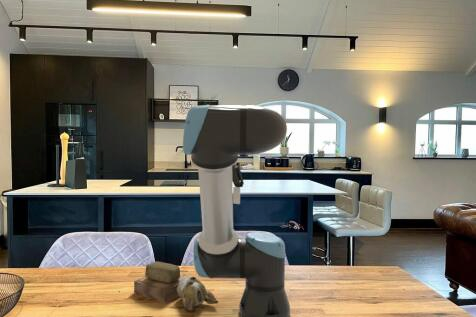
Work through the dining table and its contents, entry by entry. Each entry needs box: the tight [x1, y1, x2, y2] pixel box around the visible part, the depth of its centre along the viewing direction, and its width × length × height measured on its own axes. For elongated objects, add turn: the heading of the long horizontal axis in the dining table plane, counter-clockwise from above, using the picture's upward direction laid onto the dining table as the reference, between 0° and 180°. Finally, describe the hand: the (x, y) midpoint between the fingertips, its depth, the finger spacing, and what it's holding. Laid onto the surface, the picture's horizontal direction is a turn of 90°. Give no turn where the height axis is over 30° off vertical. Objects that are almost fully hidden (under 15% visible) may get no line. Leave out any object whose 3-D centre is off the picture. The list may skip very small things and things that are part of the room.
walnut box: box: [133, 275, 183, 304], centre depth 121 cm, size 14×12×4 cm
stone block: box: [144, 260, 181, 283], centre depth 121 cm, size 6×12×5 cm, turn 63°
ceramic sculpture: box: [177, 273, 219, 312], centre depth 112 cm, size 11×9×15 cm
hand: (226, 206), depth 135 cm, fingers open, 13 cm apart
